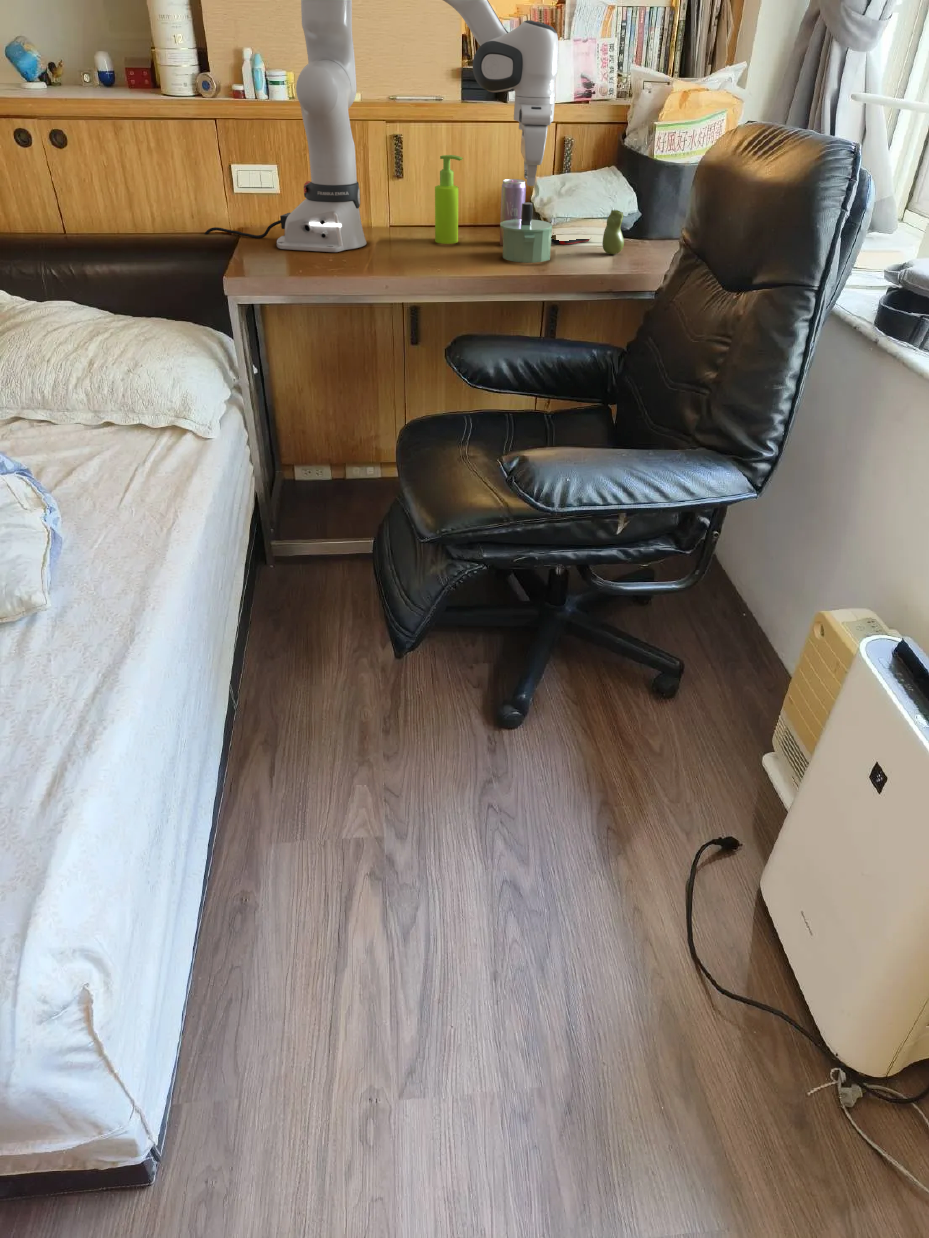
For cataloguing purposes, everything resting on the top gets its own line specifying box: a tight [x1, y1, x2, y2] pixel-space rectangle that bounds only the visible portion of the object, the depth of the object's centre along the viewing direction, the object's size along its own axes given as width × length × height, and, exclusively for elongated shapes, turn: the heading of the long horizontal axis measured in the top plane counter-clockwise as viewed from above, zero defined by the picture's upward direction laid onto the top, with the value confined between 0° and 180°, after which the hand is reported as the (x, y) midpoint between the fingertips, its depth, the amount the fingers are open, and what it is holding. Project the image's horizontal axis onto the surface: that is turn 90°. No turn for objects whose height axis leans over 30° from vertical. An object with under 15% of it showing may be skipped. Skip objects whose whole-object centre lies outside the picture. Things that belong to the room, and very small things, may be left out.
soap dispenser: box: [434, 154, 464, 245], centre depth 207 cm, size 6×7×20 cm
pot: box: [501, 228, 553, 264], centre depth 198 cm, size 11×17×7 cm
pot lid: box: [499, 201, 553, 232], centre depth 194 cm, size 12×12×6 cm
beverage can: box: [499, 178, 527, 246], centre depth 207 cm, size 6×6×15 cm
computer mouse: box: [551, 238, 591, 246], centre depth 216 cm, size 6×11×4 cm, turn 122°
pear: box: [601, 209, 625, 255], centre depth 203 cm, size 6×5×10 cm
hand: (529, 182), depth 190 cm, fingers open, 8 cm apart
